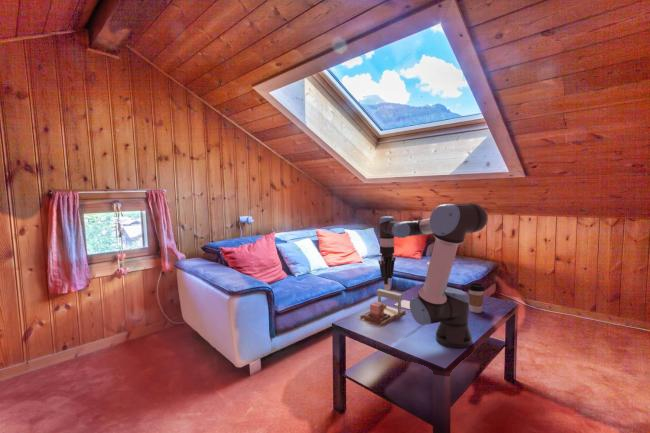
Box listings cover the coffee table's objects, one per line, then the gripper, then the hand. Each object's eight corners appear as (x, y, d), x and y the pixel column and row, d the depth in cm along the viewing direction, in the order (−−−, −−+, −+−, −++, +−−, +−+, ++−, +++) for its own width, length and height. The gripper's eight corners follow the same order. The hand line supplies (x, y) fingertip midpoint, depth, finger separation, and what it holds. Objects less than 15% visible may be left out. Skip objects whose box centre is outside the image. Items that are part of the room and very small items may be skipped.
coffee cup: (465, 311, 180) (465, 284, 179) (470, 306, 186) (471, 281, 185) (481, 315, 175) (481, 287, 173) (486, 310, 181) (486, 284, 179)
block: (378, 321, 164) (378, 306, 164) (370, 319, 168) (370, 304, 167) (383, 318, 168) (383, 303, 167) (375, 316, 171) (375, 301, 171)
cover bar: (399, 314, 170) (399, 295, 169) (376, 307, 179) (376, 290, 178) (402, 312, 172) (402, 294, 171) (380, 305, 182) (380, 288, 181)
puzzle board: (380, 330, 158) (380, 323, 158) (357, 322, 168) (357, 315, 167) (408, 314, 176) (408, 308, 176) (386, 308, 186) (386, 302, 186)
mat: (410, 310, 183) (410, 309, 183) (393, 305, 191) (393, 304, 191) (420, 304, 191) (420, 304, 191) (403, 300, 199) (403, 299, 199)
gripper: (387, 243, 178) (388, 285, 180) (373, 246, 169) (374, 291, 171) (399, 245, 173) (400, 288, 175) (386, 248, 164) (386, 294, 165)
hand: (387, 289), depth 173 cm, fingers closed
